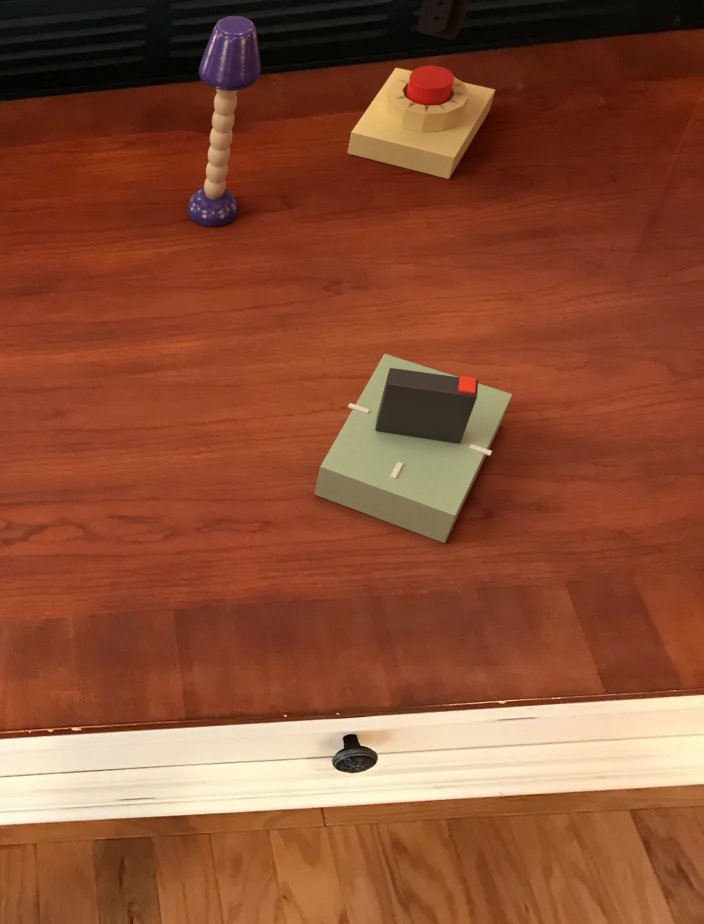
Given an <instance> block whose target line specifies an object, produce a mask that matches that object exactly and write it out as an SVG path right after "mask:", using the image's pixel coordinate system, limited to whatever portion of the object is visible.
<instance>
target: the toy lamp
mask: <svg viewBox="0 0 704 924" xmlns="http://www.w3.org/2000/svg"><path fill="white" fill-rule="evenodd" d="M261 68H262V67H261V57H260V51H259V42H258V34H257V29H256V25H255V23H254V22H253V21H251V20H250V19H249V18H246V17H244V16H239V15H232V16H231V15H230V16H226V17H223V18H221V19H219V21H217V22H216V24H215V25H214V27H213V30H212V32H211V35H210V37H209V40H208V42H207V45H206V48H205V50H204V53H203V55H202V58H201V61H200V64H199V68H198V75H199V78H200V80H201V81H202V82H203V83H204V84H206V86H209V87H211V88H213V89H215V91H216V94H215V96H214V99H213V107H214V111H213V114H212V116H211V125H212V128H211V131H210V133H209V142H210V145H209V148H208V150H207V160H208V163H207V164H206V167H205V175H206V179H205V181H204V184H203V187H202V188H201V189H198V190H197V191H196V192H194V194H193V195H192V196H191V197H190V200H189V201H188V203H187V204H188V205H187V208H186V210H187V211H186V212H187V216H188V217H189V218H190V219H191V220H192V221H193V222H195V223H196V224H200V225H202V226H208V227H219V226H224V225H227V224H229V223H231V222H232V221H233V220H235V218H236V217H237V214H238V209H239V207H238V203H237V200H236V198H235V196H234V195H233V193H232V192H230V191H229V190H228V189H226V185H227V183H226V177H227V175H228V172H229V171H228V170H229V166H228V162H229V161H230V157H231V149H230V146H231V144H232V141H233V130H232V129H233V127H234V125H235V120H236V119H235V111H236V108H237V105H238V97H237V93H238V91H240V90H245V89H247V88H250V87H252V86H253V85H254V84H256V83H257V82H258V80H259V79H260V75H261V72H262V71H261V70H262V69H261Z"/></svg>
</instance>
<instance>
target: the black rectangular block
mask: <svg viewBox="0 0 704 924" xmlns="http://www.w3.org/2000/svg"><path fill="white" fill-rule="evenodd" d="M478 383H479V380H478V379H477V378H476V377H471V376H463V375H459V376H457V377H453V376H446V375H439V374H432V373H425V372H418V371H410V370H403V369H396V368H390V369H389V372H388V376H387V380H386V384H385V387H384V391H383V395H382V399H381V402H380V406H379V410H378V414H377V420H376V427H375V430H376V431H380V432H387V433H393V434H400V435H406V436H413V437H419V438H426V439H433V440H439V441H446V442H452V443H461V440H462V438H463V435H464V432H465V429H466V426H467V424H468V421H469V418H470V415H471V413H472V410H473V407H474V404H475V401H476V399H477V392H478Z"/></svg>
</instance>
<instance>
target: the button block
mask: <svg viewBox="0 0 704 924" xmlns="http://www.w3.org/2000/svg"><path fill="white" fill-rule="evenodd" d="M412 71H413V70H409V69H404V68H400V67H395V68H394V70H393V71H392V72H391V74H390V76H389V77H388V78H387V80H386V81H385V83H384V84H383V85H382V87H381V88H380V90H379V91H378V93H377V94H376V95H375V97H374V99H373V100H372V101H371V103H370V104H369V105H368V107H367V109H366V110H365V112H364V113H363V115H362V116H361V118H360V119H359V120H358V122H357V123H356V125H355V126H354V128H353V129H352V130H351V132H350V137H349V142H348V146H347V147H348V148H347V154H348V155H352V156H356V157H360V158H364V159H367V160H371V161H376V162H380V163H384V164H386V165H387V164H388V165H392V166H396V167H399V168H403V169H407V170H411V171H415V172H419V173H422V174H427V175H430V176H431V175H432V176H435V177H439V178H444V179H446V180H449V179H450V178H451V177H452V175H453V174H454V172H455V169H456V168H457V167H458V165H459V164H460V161H461V160H462V158H463V156H464V155H465V154H466V151H467V150H468V148H469V146H470V144H471V143H472V141H473V139H474V138H475V137H476V135H477V132H478V131H479V129H480V128H481V126H482V124H483V123H484V121H485V119H486V117H487V116H488V114H489V113H490V110H491V107H492V103H493V100H494V96H495V93H496V89H494V88H491V87H486V86H482V85H476V84H473V83H469V82H463V81H462V80H460V79H458V78H457V77H455V76H454V82H453V86H452V90H451V94H450V98H449V100H448V101H447V102H446V103H444V104H442V105H432V106H425V105H421V104H417V103H414V102H412V101H411V100H409V99H408V98H407V96H406V92H407V87H408V83H409V78H410V74H411V73H412Z"/></svg>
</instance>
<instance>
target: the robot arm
mask: <svg viewBox="0 0 704 924" xmlns="http://www.w3.org/2000/svg"><path fill="white" fill-rule="evenodd" d="M469 2H470V0H423V1H422V5H421V8H420V14H419V17H418V22H417V27H416V30H417V32H418V33H420V34H424V35H428V36H431V37H433V36H434V37H436V38H440V39H441V38H442V39H445V40H454V39H455V38H456V37H457V35H458V33H459V32H460V31H461V29H462V28H463V24H464V21H465V16H466V13H467V9H468V5H469Z"/></svg>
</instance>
